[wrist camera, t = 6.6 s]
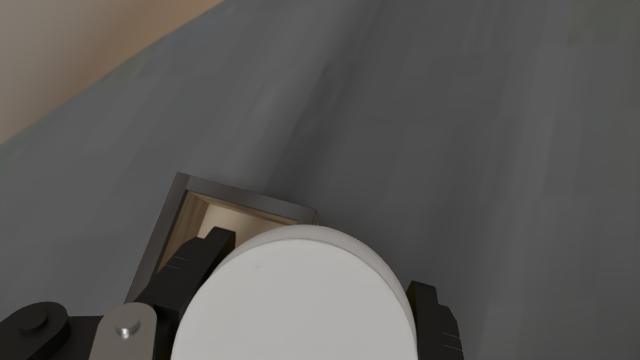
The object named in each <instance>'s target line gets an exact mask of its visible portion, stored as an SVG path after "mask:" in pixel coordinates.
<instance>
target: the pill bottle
mask: <svg viewBox="0 0 640 360" xmlns="http://www.w3.org/2000/svg"><path fill="white" fill-rule="evenodd" d="M171 360H418V353H417V338H416V329H415V323H414V318H413V314H412V310H411V307H410V304H409V302H408V299H407V297H406V294H405V292H404V290H403V288H402V286H401V284H400V283H399V281H398V279H397V277H396V276H395V275H394V273H393V272H392V270H391V269H390V268H389V266H388V265H387V264H386V263H385V261H384V260H383V259H382V258H381V257H380V256H379V255H378V254H376V253H375V252H374V251H373V250H372V249H371V248H369V247H368V246H367V245H365V244H364V243H362V242H361V241H359V240H357V239H355V238H353V237H351V236H349V235H347V234H345V233H343V232H340V231H338V230H335V229H332V228H328V227H324V226H317V225H289V226H283V227H279V228H275V229H272V230H269V231H266V232H264V233H261V234H259V235H256V236H255V237H253V238H251V239H249V240H247V241H246V242H244V243H243V244H241V245H240V246H238V247H237V248H236V249H234V250H233V251H232V252H231V253H230V254H229V255H228V256H227V257H226V258H225V259H224V260H223V261H222V262H221V263H220V264H219V265H218V266H217V268H216V269H215V270H214V271H213V273H212V274H211V276H210V277H209V278H208V279H207V281H206V282H205V283H204V284H203V285H202V286H201V287H200V288H199V290H198V291H197V293H196V294H195V296H194V297H193V299H192V301H191V302H190V304H189V305H188V307H187V310H186V312H185V314H184V316H183V318H182V320H181V322H180V325H179V328H178V330H177V333H176V337H175V341H174V345H173V350H172V355H171Z"/></svg>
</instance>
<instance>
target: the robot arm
mask: <svg viewBox="0 0 640 360" xmlns="http://www.w3.org/2000/svg"><path fill="white" fill-rule="evenodd" d="M235 244H236V232H235V231H231V230H228V229H224V228H220V227H217V226H214V227H213V228H212V229H211V230H210V232H209V233H208V234H207V236H206V237H205V238H204V239H203V238H200V237H196V236H195V237H194V238H192V239H190V240H188V241H187V242H185V243H183V244H182V245H181V246H180V247H179V248H178V250H177V251H176V252H175V253H174V254H173V257H171V258H170V259H169V260H168V261H167V263H166V264H165V266H163V267H162V268H161V270H160V271H159V272H158V273H157V274H156V276H155V277H154V278H153V279H152V280H151V281H150V283H149V284H148V285H147V286H146V287H145V288H144V290H143V291H142V292H141V293H140V294H139V296H138V297H137V298H136V299H135V300H134V301H133V302H132V303H126V304H123V305H120V306H118V307H116V308H114V309H112V310H111V311H109V312H108V313H107V314H106V315H103V316H71V317H68V315H67V311H66V309H65V308H64V307H63V306H62V305H60V304H58V303H55V302H39V303H34V304H31V305H28V306H26V307H23V308H21V309H19V310H17V311H16V312H14V313H13V314H11V315H10V316H9V317H7V318H6V319H4V320H3V321H2V322H0V360H171V355H172V350H173V345H174V341H175V337H176V333H177V330H178V328H179V325H180V322H181V320H182V318H183V316H184V314H185V312H186V310H187V307H188V305H189V304H190V302H191V301H192V299H193V297H194V296H195V294H196V293H197V291H198V290H199V288H200V287H201V286H202V285H203V284H204V283H205V282H206V281H207V279H208V278H209V277H210V276H211V274H212V273H213V271H214V270H215V269H216V268H217V266H218V265H219V264H220V263H221V262H222V261H223V260H224V259H225V258H226V257H227V256H228V255H229V254H230V253H231V252H232V251H233V250H234V249H235ZM406 297H407V299H408V302H409V304H410V307H411V310H412V314H413V318H414V323H415V329H416V338H417V353H418V360H464V356H463V352H462V346H461V341H460V339H459V337H460V336H459V331H458V325H457V321H456V319H455V318H454V316H453V314H452V313H451V311H450V309H449V308H448V307H447V306H444V305H440V304H438V300H437V293H436V288H435V287H434V286H431V285H427V284H423V283H420V282H416V281H411V283H410V285H409V287H408V289H407V292H406Z"/></svg>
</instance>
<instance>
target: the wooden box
mask: <svg viewBox="0 0 640 360" xmlns="http://www.w3.org/2000/svg"><path fill="white" fill-rule="evenodd" d="M289 225H317V226H318V218H317V210H315V209H311V208H308V207H304V206H300V205H297V204H293V203H290V202H286V201H282V200H279V199H275V198H271V197H268V196H264V195H260V194H257V193H253V192H249V191H246V190H242V189H239V188H235V187H231V186H228V185H224V184H220V183H217V182H213V181H209V180H206V179H202V178H198V177H195V176H191V175H188V174H184V173H180V172H177V174H176V176H175V178H174V181H173V183H172V186H171V188H170V191H169V193H168V196H167V198H166V201H165V203H164V206H163V208H162V211H161V213H160V215H159V218H158V220H157V223H156V225H155V228H154V230H153V233H152V235H151V238H150V240H149V243H148V245H147V248H146V250H145V252H144V255H143V257H142V260H141V262H140V265H139V267H138V270H137V272H136V275H135V277H134V280H133V282H132V285H131V287H130V289H129V292H128V294H127V297H126V299H125V302H124V304H126V303H132V302H133V301H134V300H135V299H136V298H137V297H138V296H139V294H140V293H141V292H142V291H143V290H144V288H145V287H146V286H147V285H148V284H149V283H150V281H151V280H152V279H153V278H154V277H155V276H156V274H157V273H158V272H159V271H160V270H161V268H162V267H163V266H165V264H166V263H167V261H168V260H169V259H170V258H171V257H173V254H174V253H175V252H176V251H177V250H178V248H179V247H180V246H181V245H182V244H183V243H185V242H187V241H188V240H190V239H192V238H194V237H195V236H196V237H200V238H203V239H204V238H205V237H206V236H207V234H208V233H209V232H210V230H211V229H212V228H213V227H214V226H217V227H220V228H224V229H228V230H231V231H235V232H236V244H235V249H236V248H237V247H238V246H240V245H241V244H243V243H244V242H246V241H247V240H249V239H251V238H253V237H255V236H256V235H259V234H261V233H264V232H266V231H269V230H272V229H275V228H279V227H283V226H289Z"/></svg>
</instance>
